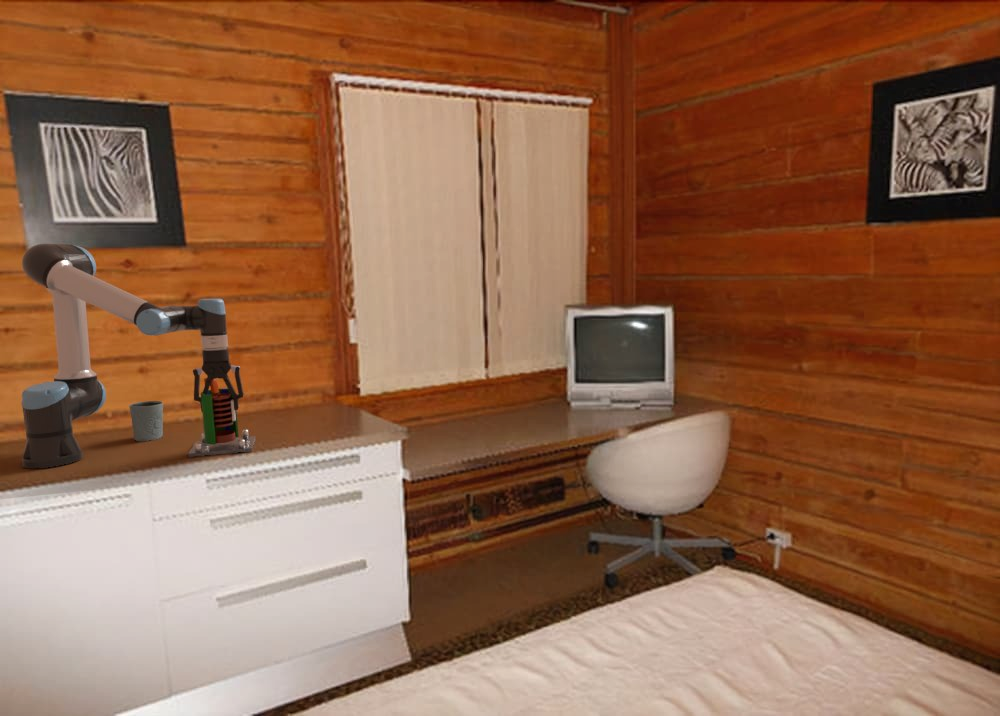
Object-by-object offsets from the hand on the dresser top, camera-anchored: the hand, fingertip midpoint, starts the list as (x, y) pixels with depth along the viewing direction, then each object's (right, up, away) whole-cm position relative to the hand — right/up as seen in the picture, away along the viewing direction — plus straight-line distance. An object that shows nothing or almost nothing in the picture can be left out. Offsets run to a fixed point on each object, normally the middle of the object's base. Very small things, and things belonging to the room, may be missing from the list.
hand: (221, 421), depth 215 cm
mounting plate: (0, -9, +1) cm, 9 cm away
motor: (0, -6, +1) cm, 6 cm away
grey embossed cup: (-31, -8, +17) cm, 36 cm away
